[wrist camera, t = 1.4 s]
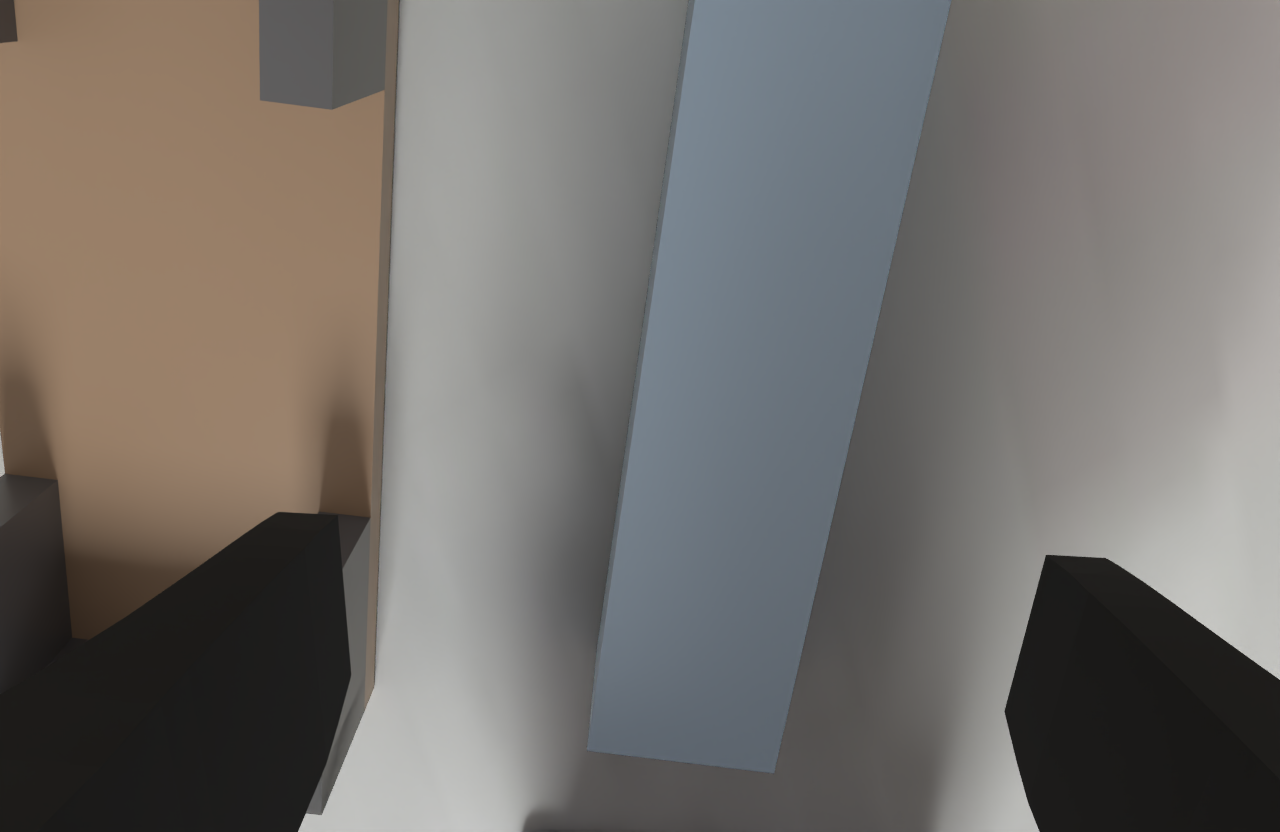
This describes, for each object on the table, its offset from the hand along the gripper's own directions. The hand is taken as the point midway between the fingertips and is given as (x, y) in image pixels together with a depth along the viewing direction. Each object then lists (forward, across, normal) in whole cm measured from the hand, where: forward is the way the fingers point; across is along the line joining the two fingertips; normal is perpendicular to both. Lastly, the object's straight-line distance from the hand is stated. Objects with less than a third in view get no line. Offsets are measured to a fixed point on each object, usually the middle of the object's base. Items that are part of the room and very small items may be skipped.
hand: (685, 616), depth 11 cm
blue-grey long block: (+10, -1, +1) cm, 10 cm away
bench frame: (+10, +9, 0) cm, 13 cm away
